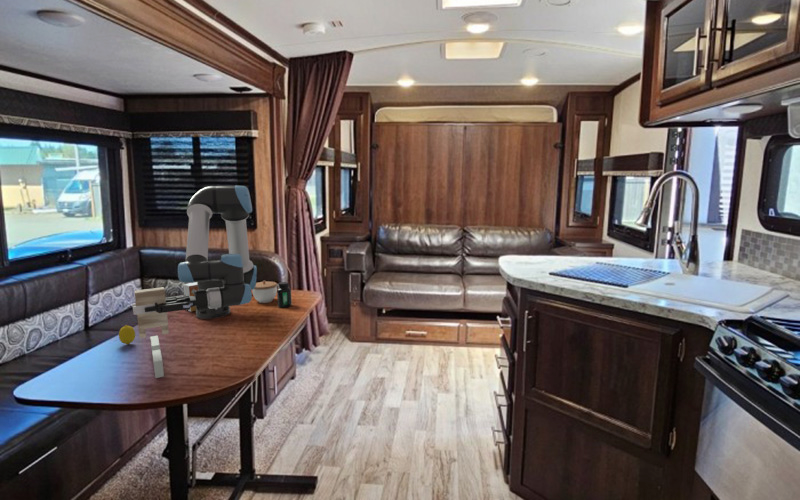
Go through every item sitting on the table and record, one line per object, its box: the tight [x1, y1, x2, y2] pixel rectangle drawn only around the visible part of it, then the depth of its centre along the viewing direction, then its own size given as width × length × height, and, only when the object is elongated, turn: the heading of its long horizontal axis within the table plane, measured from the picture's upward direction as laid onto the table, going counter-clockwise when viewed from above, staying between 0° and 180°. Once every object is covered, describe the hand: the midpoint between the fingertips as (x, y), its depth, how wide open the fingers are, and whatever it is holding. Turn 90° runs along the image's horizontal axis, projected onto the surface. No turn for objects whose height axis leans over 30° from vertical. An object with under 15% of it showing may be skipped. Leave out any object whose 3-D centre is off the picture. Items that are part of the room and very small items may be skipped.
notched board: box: [149, 335, 165, 379], centre depth 161 cm, size 28×2×6 cm, turn 30°
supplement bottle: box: [276, 281, 293, 309], centre depth 228 cm, size 7×7×12 cm
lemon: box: [118, 324, 136, 346], centre depth 178 cm, size 6×6×8 cm
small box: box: [182, 282, 198, 313], centre depth 225 cm, size 8×6×13 cm
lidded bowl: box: [251, 280, 278, 304], centre depth 238 cm, size 13×13×11 cm
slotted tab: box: [134, 286, 170, 339], centre depth 158 cm, size 4×9×16 cm, turn 120°
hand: (133, 309), depth 155 cm, fingers closed on slotted tab, 3 cm apart
